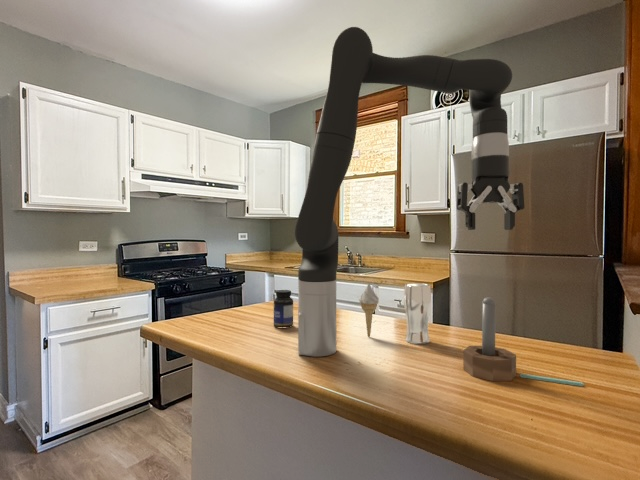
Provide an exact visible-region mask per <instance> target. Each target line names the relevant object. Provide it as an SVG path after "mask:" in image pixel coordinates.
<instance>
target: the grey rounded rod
mask: <svg viewBox="0 0 640 480" xmlns="http://www.w3.org/2000/svg"><path fill="white" fill-rule="evenodd" d="M481 317H482V318H481V323H482V324H481V325H482V326H481V335H482V336H481V346H482V355H486V356H490V357H495V347H496V302H495V300H494V299H493V298H492V297H489V296H487V297H484V298H483V300H482V301H481Z"/></svg>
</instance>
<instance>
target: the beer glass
mask: <svg viewBox="0 0 640 480" xmlns="http://www.w3.org/2000/svg"><path fill="white" fill-rule="evenodd" d="M431 290H432V289H431V284H428V283H423V282H422V283H421V282H420V283H419V282H412V283H411V282H410V283H409V282H408V283H405V284H404V290H403V292H404V293H403V305H404V306H403V307H404V313H405V319H406V327H407V328H406V335H405V341H406V342H407V343H408V344H413V345H421V346H422V345H427V344H429V343H430V342H431V341H430V336H429V335H430V334H429V321H430V316H431V310H432V291H431Z"/></svg>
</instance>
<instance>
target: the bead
mask: <svg viewBox="0 0 640 480" xmlns="http://www.w3.org/2000/svg"><path fill="white" fill-rule="evenodd" d="M462 351H463V353H462V354H463V355H462V356H463V357H462V358H463V367H462V368H463V370H464V371H465V372H467V373H468V374H469V376H472V377H474V378H478V379H482V380H486V381H491V382H510V381H511V382H512V381H513V379H515V377H516V376H517V354H516V353H513V352H512V351H510V350H507V349H505V348H502V347H497V346H495V357H490V356H486V355H482V345H469V346H468V345H467V347H465V348H464V349H463V350H462Z"/></svg>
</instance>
